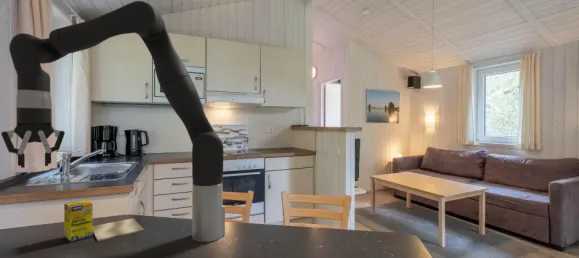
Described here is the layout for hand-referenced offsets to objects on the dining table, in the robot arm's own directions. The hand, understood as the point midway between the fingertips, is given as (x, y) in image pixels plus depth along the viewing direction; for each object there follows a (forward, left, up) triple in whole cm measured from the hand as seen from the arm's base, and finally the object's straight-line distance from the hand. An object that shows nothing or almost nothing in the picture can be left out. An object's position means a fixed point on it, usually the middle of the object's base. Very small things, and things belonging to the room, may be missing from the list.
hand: (35, 166), depth 82 cm
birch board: (-21, 0, -23) cm, 31 cm away
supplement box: (-10, 0, -24) cm, 26 cm away
